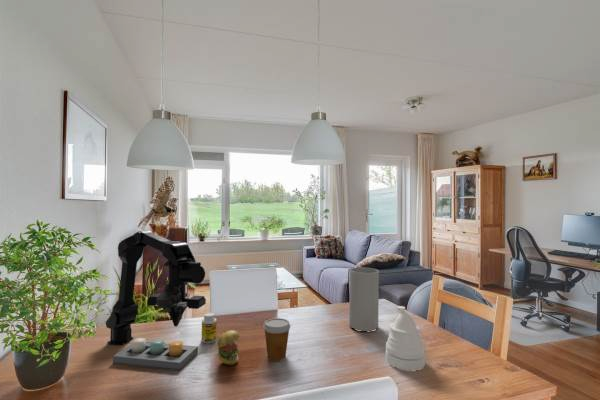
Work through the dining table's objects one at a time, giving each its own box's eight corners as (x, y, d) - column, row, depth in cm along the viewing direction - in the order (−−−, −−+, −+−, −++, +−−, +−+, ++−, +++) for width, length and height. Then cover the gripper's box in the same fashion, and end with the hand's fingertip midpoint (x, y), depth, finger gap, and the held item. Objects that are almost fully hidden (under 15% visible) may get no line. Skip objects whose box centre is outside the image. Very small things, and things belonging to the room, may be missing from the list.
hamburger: (234, 369, 103) (234, 331, 104) (213, 367, 104) (213, 330, 105) (242, 358, 111) (242, 323, 111) (222, 356, 112) (223, 321, 112)
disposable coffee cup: (293, 353, 115) (294, 319, 115) (284, 365, 106) (284, 329, 106) (269, 349, 118) (270, 316, 118) (258, 360, 109) (258, 325, 109)
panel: (112, 363, 106) (112, 356, 106) (136, 348, 118) (137, 340, 118) (179, 370, 102) (179, 362, 102) (197, 353, 114) (198, 346, 114)
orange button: (166, 355, 107) (166, 346, 107) (173, 349, 111) (173, 340, 111) (178, 357, 106) (178, 347, 106) (185, 351, 111) (185, 341, 111)
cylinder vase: (356, 320, 149) (357, 266, 150) (382, 326, 142) (383, 269, 142) (344, 328, 139) (344, 270, 140) (371, 335, 132) (371, 274, 132)
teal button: (147, 353, 108) (147, 344, 108) (155, 348, 112) (155, 339, 112) (159, 355, 107) (159, 345, 107) (166, 349, 112) (166, 340, 112)
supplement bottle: (203, 345, 121) (204, 317, 121) (199, 339, 126) (200, 313, 126) (218, 341, 124) (218, 315, 124) (213, 336, 129) (214, 311, 129)
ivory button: (128, 352, 109) (128, 342, 109) (137, 346, 114) (137, 337, 114) (140, 353, 109) (140, 343, 109) (148, 347, 113) (148, 338, 113)
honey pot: (377, 356, 113) (378, 305, 113) (406, 350, 118) (406, 301, 119) (403, 374, 101) (403, 317, 102) (433, 366, 106) (433, 312, 107)
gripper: (136, 284, 103) (135, 333, 103) (190, 287, 100) (189, 337, 99) (157, 276, 114) (156, 320, 114) (206, 279, 111) (206, 324, 110)
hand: (176, 326), depth 109 cm, fingers closed
